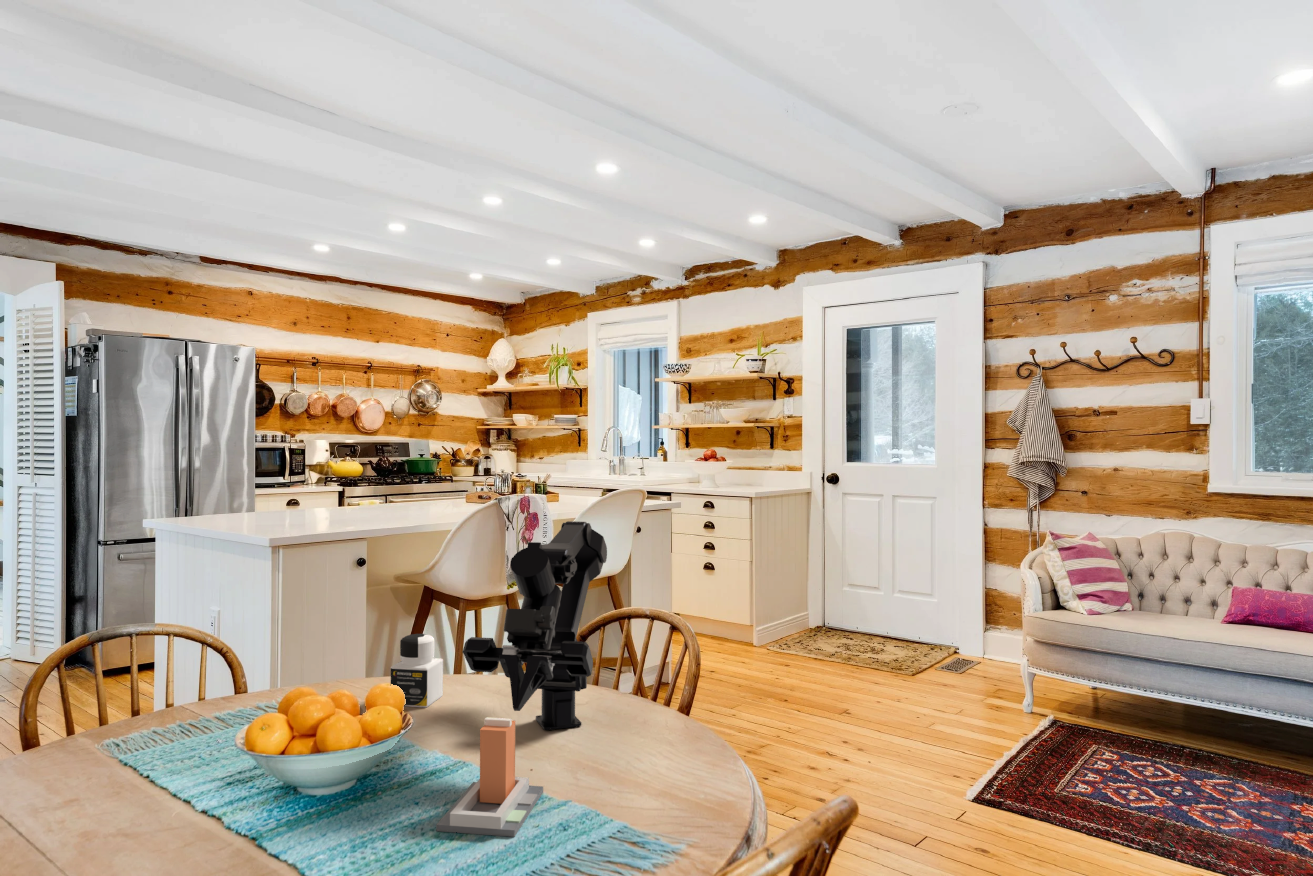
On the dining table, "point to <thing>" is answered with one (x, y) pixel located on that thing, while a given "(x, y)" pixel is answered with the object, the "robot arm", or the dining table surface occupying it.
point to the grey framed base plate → (491, 811)
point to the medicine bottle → (418, 671)
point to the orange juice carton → (497, 759)
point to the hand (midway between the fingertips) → (516, 709)
